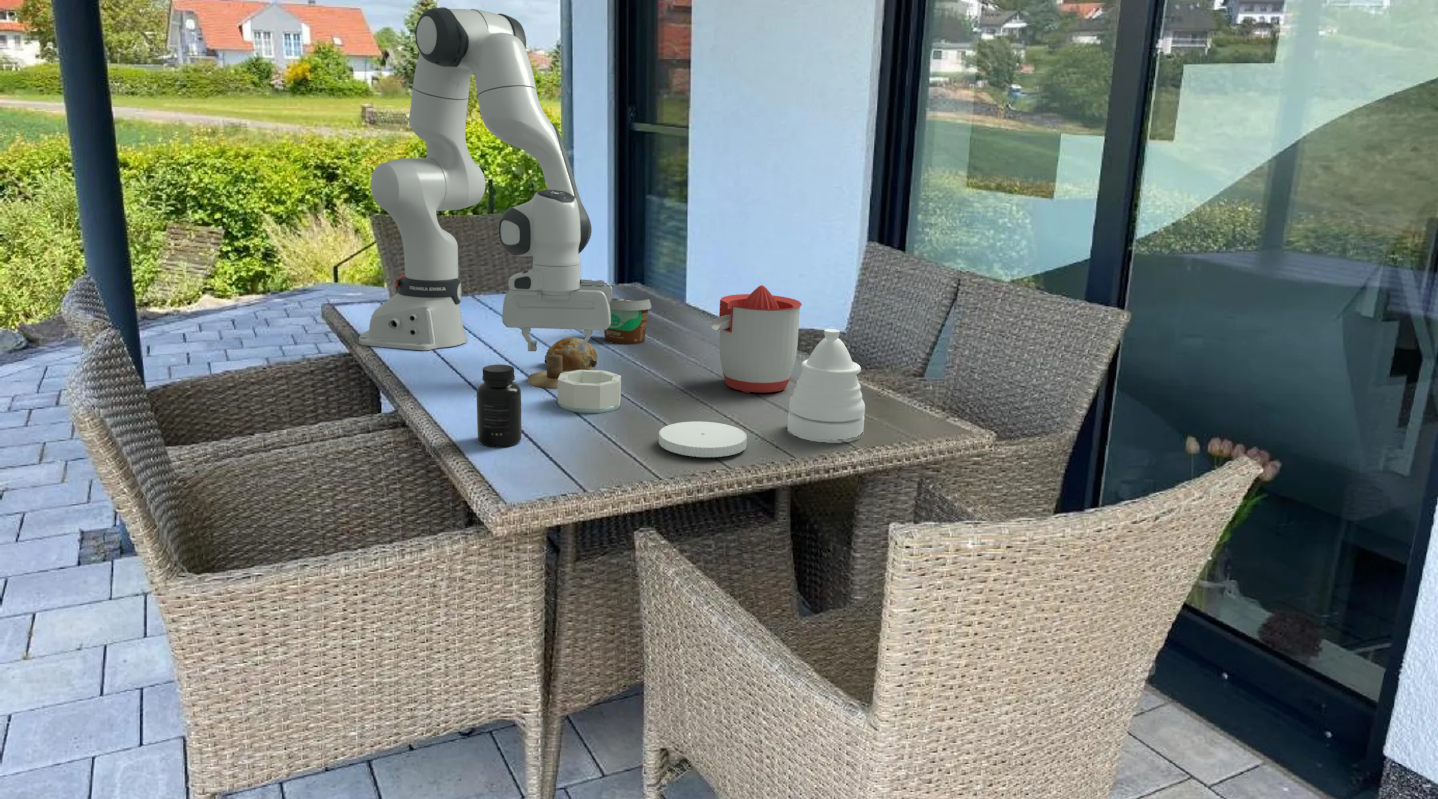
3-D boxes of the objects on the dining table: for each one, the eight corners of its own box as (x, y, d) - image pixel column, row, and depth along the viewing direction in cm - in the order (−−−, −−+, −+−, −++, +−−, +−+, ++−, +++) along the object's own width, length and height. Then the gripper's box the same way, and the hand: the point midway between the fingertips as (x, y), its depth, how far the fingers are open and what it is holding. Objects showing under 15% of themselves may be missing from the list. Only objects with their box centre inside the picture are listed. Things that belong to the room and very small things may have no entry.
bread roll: (578, 392, 214) (595, 358, 212) (533, 366, 215) (550, 332, 212) (593, 380, 223) (610, 348, 221) (551, 355, 224) (567, 323, 221)
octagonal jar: (554, 412, 187) (554, 384, 186) (562, 395, 198) (562, 368, 196) (618, 414, 187) (618, 386, 186) (622, 397, 198) (622, 371, 197)
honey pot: (861, 446, 176) (870, 339, 171) (783, 439, 178) (790, 332, 173) (864, 425, 188) (873, 324, 184) (791, 418, 190) (798, 318, 186)
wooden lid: (525, 389, 202) (524, 362, 200) (531, 376, 211) (530, 350, 210) (579, 389, 202) (579, 362, 201) (582, 376, 212) (582, 350, 211)
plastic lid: (763, 455, 171) (764, 440, 170) (690, 468, 163) (691, 452, 162) (713, 431, 182) (713, 417, 181) (642, 443, 174) (642, 428, 173)
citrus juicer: (696, 379, 214) (700, 279, 208) (775, 375, 220) (781, 277, 215) (725, 400, 200) (731, 293, 194) (809, 395, 206) (817, 291, 201)
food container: (588, 341, 242) (589, 297, 239) (601, 336, 248) (602, 293, 245) (638, 348, 238) (639, 303, 235) (650, 343, 243) (651, 299, 241)
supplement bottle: (480, 434, 173) (479, 361, 170) (523, 435, 174) (523, 363, 170) (474, 447, 166) (473, 372, 163) (519, 448, 167) (519, 373, 164)
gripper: (613, 278, 205) (613, 349, 208) (505, 275, 204) (506, 346, 208) (611, 283, 199) (611, 356, 202) (499, 280, 198) (501, 353, 201)
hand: (557, 351), depth 205 cm, fingers open, 8 cm apart
